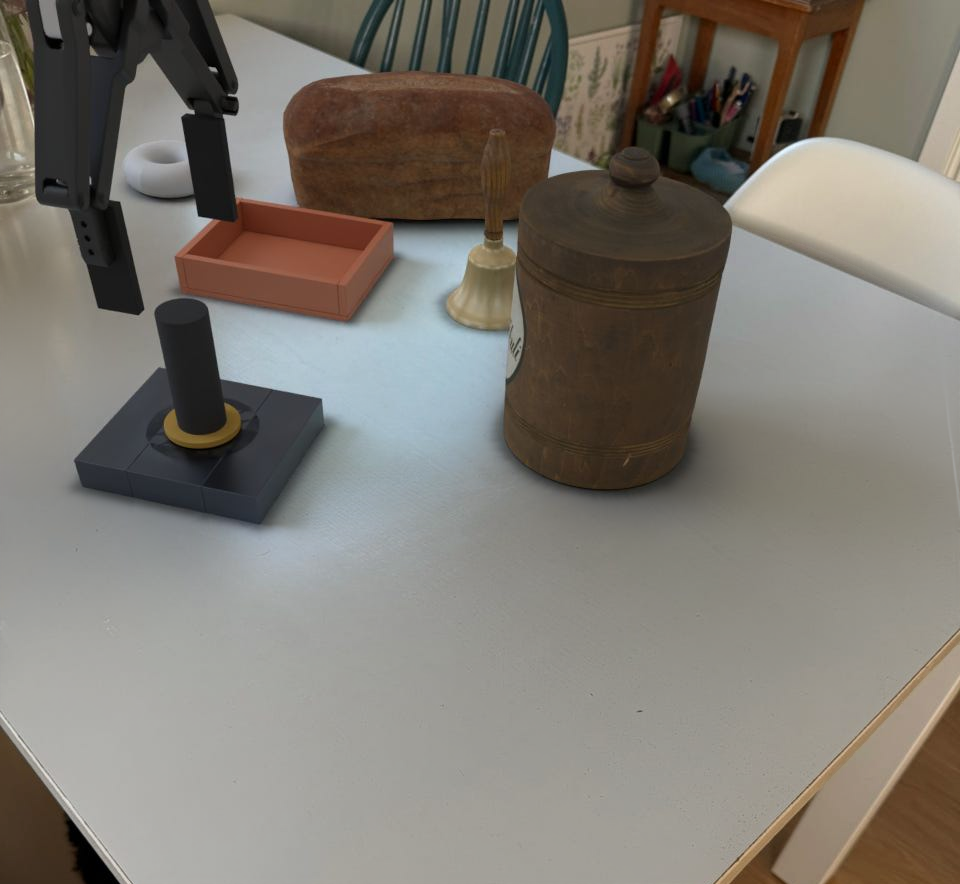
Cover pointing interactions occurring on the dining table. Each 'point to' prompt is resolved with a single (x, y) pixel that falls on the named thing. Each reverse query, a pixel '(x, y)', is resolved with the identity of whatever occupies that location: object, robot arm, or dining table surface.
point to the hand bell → (489, 251)
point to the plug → (193, 376)
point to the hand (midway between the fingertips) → (173, 260)
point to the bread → (412, 143)
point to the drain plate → (203, 451)
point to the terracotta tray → (288, 259)
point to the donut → (159, 169)
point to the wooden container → (611, 321)
